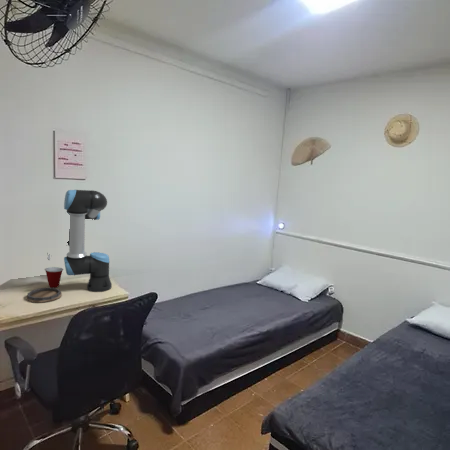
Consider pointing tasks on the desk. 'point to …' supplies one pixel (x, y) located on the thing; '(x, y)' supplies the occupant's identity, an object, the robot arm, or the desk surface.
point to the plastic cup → (53, 276)
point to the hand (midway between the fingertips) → (59, 259)
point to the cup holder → (44, 295)
